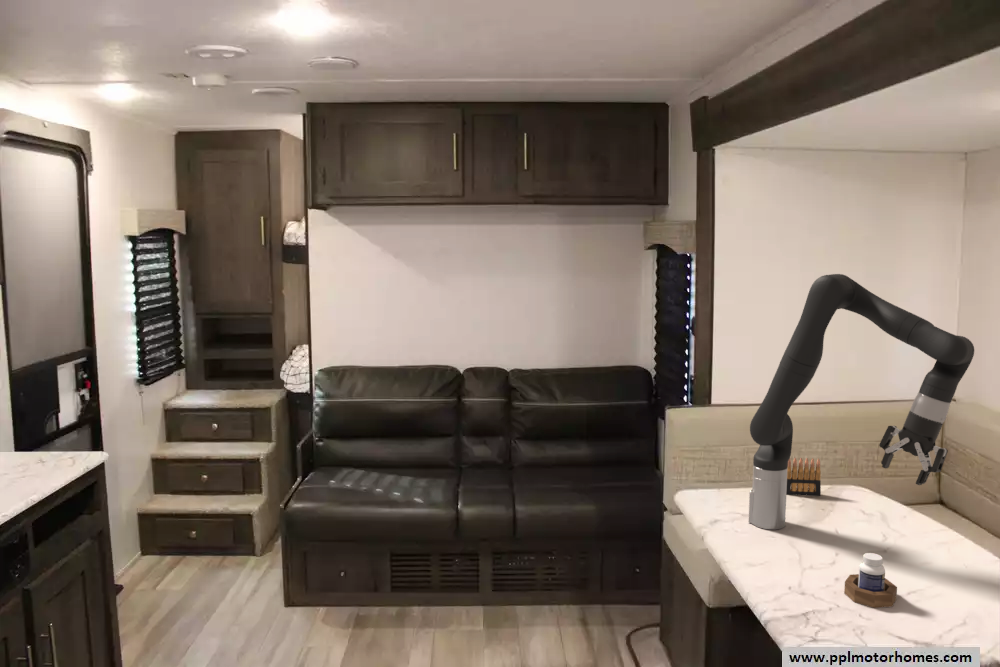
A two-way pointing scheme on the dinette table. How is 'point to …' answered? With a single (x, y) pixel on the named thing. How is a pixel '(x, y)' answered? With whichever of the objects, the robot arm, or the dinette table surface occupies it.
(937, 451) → the robot arm
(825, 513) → the dinette table surface
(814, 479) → the ammunition clip
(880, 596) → the walnut ring
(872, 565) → the pill bottle
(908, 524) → the dinette table surface
